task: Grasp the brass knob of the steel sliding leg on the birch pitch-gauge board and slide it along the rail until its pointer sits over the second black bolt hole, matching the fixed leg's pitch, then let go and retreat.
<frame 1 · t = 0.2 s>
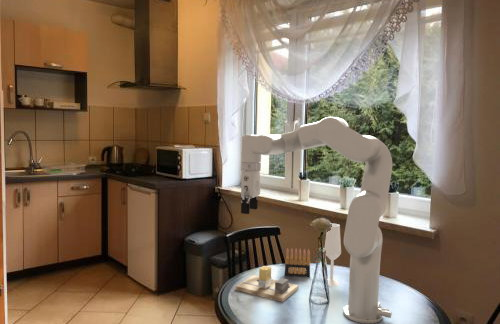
hand: (249, 211, 152), 30 cm above the table, tool pointing down, fingers open, 9 cm apart
ammunition clip: (297, 276, 167), on the table
sliding leg: (267, 275, 151), point 5 cm above the table, slide at 0.0 cm
gauge board: (267, 289, 152), on the table
champagne flute: (331, 283, 160), on the table
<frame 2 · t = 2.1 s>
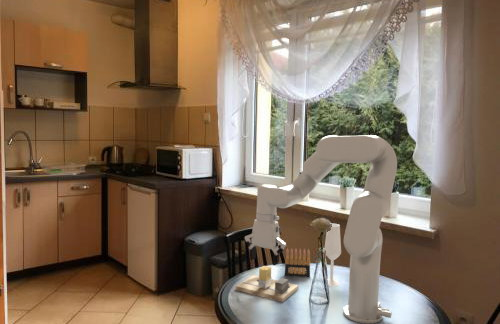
hand: (264, 261, 150), 11 cm above the table, tool pointing down, fingers open, 9 cm apart
nothing on the table moved.
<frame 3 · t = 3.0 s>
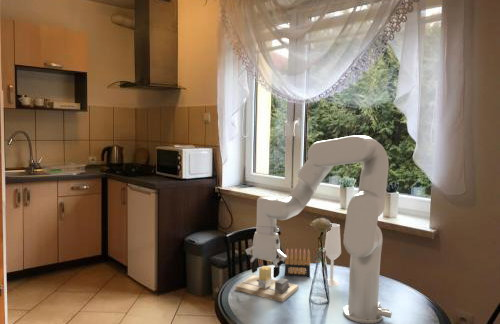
hand: (265, 274, 150), 7 cm above the table, tool pointing down, fingers open, 8 cm apart
nothing on the table moved.
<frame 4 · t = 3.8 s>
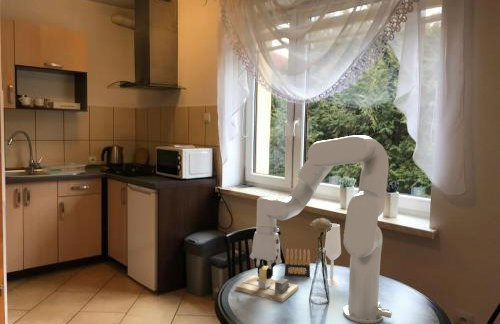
hand: (265, 276, 150), 6 cm above the table, tool pointing down, fingers closed on sliding leg, 3 cm apart
sliding leg: (267, 275, 151), point 5 cm above the table, slide at 0.0 cm, touching gripper
everything else where it was.
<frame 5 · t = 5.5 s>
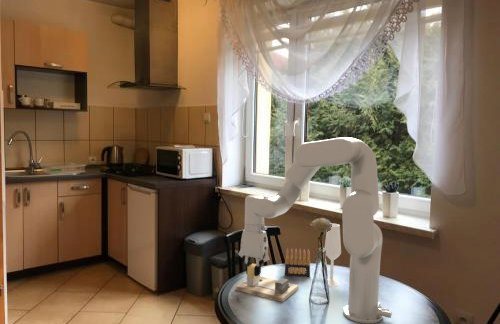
hand: (253, 273, 152), 6 cm above the table, tool pointing down, fingers closed on sliding leg, 3 cm apart
sliding leg: (255, 273, 154), point 5 cm above the table, slide at 5.2 cm, touching gripper
everything else where it was.
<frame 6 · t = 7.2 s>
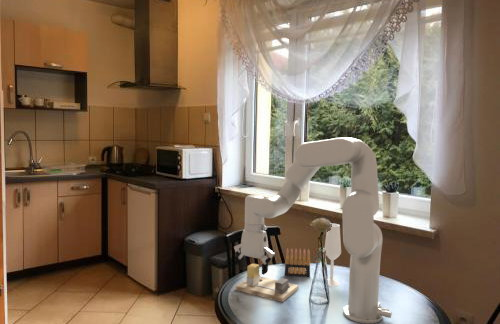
hand: (253, 271, 152), 7 cm above the table, tool pointing down, fingers open, 9 cm apart
sliding leg: (255, 273, 154), point 5 cm above the table, slide at 5.2 cm
everything else where it was.
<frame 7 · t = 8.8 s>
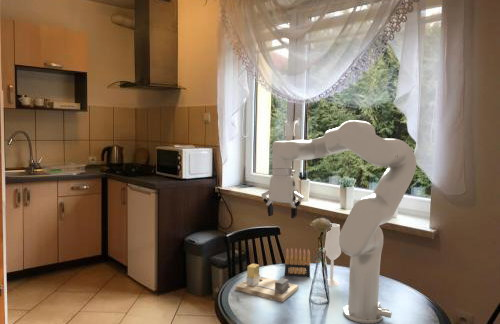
hand: (282, 216, 153), 28 cm above the table, tool pointing down, fingers open, 9 cm apart
nothing on the table moved.
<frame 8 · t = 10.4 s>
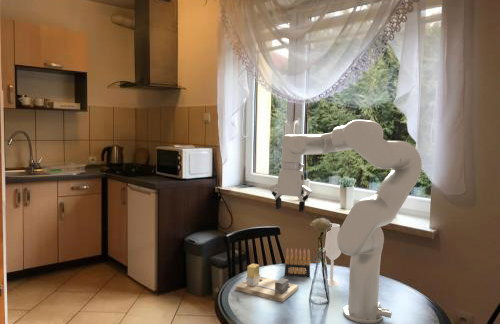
hand: (289, 210, 154), 30 cm above the table, tool pointing down, fingers open, 9 cm apart
nothing on the table moved.
at the end: sliding leg slide at 5.2 cm; the gripper is holding nothing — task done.
